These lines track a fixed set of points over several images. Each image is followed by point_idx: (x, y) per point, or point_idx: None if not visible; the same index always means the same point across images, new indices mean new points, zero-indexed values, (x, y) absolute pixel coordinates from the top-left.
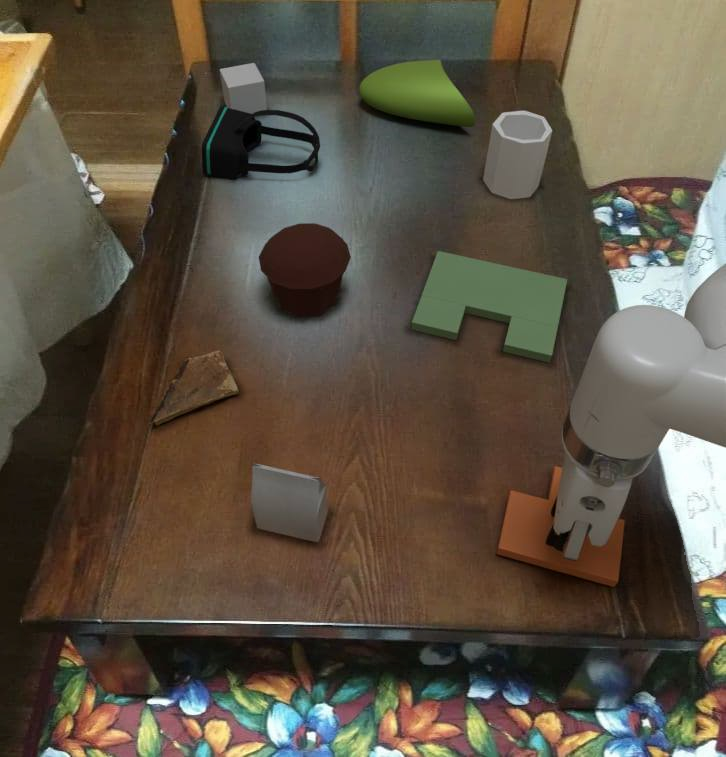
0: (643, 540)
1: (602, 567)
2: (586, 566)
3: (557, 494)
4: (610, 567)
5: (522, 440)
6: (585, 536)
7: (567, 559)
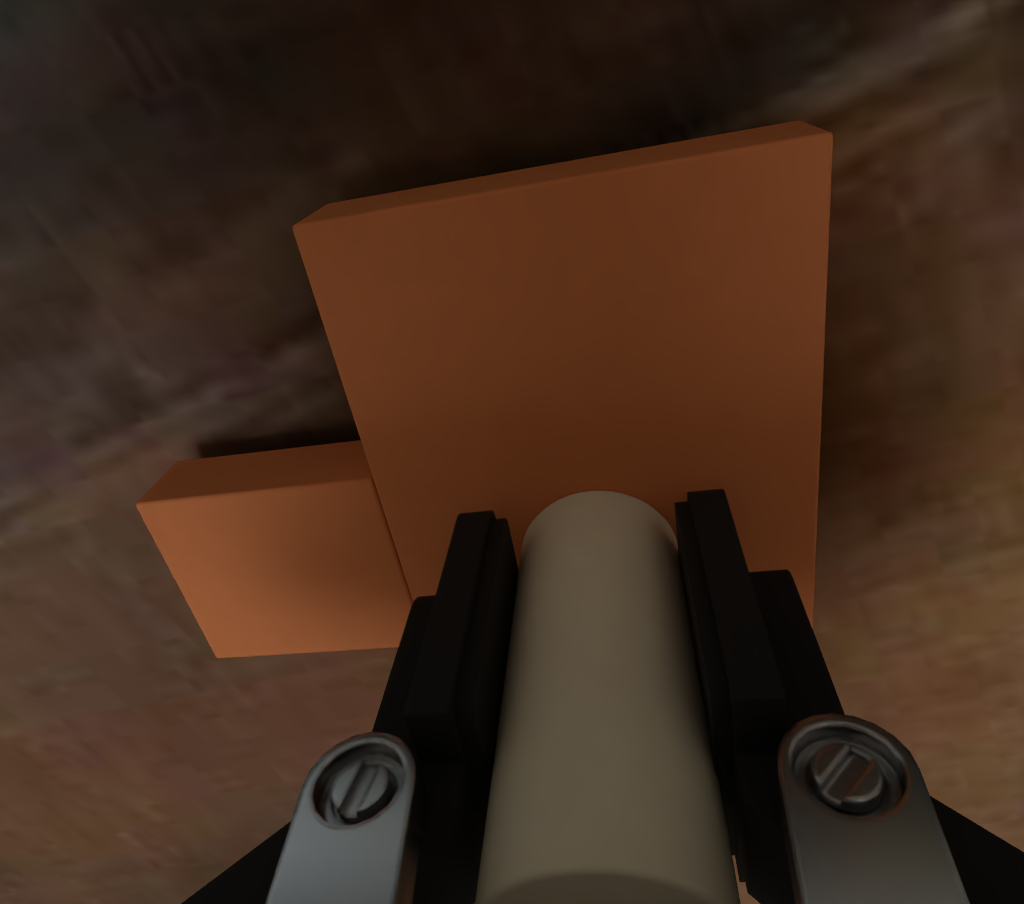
0: (320, 2)
1: (750, 281)
2: (776, 382)
3: (368, 618)
4: (729, 225)
5: (182, 715)
6: (954, 869)
7: (762, 493)
